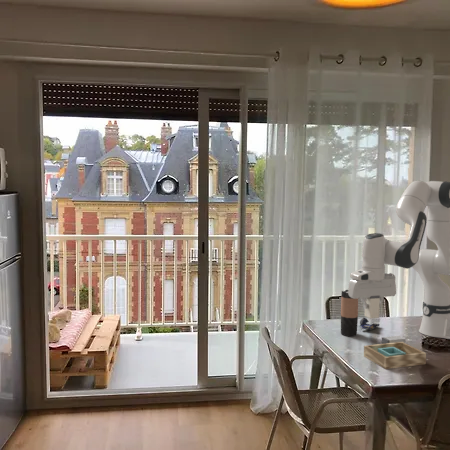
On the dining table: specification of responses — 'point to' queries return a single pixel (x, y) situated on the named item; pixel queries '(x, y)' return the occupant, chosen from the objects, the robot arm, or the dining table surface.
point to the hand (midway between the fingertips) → (372, 308)
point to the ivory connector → (372, 307)
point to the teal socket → (390, 351)
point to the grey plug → (393, 339)
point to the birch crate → (389, 362)
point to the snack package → (367, 325)
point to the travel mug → (348, 314)
